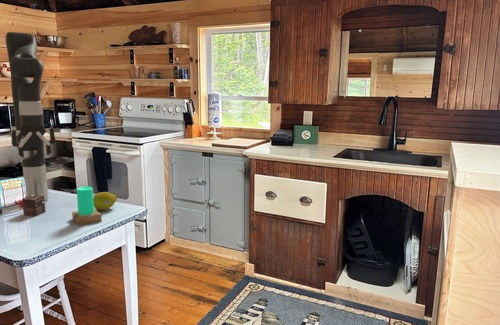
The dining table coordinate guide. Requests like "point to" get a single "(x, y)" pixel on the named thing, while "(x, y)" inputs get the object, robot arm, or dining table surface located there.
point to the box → (33, 205)
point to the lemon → (104, 200)
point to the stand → (86, 218)
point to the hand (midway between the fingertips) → (35, 155)
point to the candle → (85, 200)
